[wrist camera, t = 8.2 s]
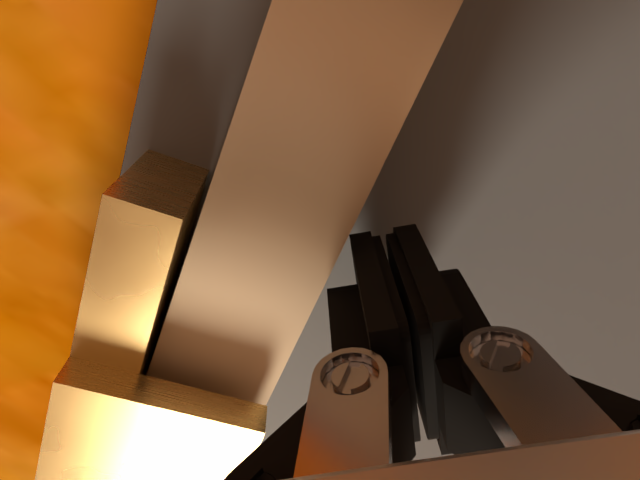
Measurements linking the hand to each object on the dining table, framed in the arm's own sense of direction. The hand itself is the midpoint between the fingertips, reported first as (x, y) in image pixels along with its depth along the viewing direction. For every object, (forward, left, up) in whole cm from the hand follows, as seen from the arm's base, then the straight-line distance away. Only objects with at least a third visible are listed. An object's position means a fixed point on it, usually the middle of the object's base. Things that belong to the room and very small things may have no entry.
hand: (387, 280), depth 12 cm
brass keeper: (+4, -4, -1) cm, 6 cm away
